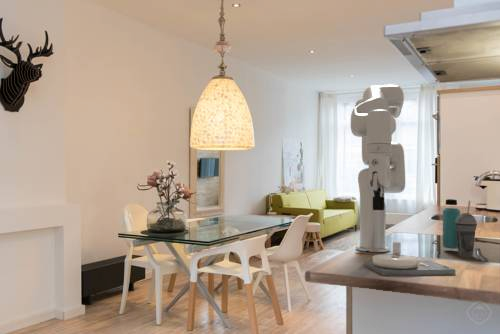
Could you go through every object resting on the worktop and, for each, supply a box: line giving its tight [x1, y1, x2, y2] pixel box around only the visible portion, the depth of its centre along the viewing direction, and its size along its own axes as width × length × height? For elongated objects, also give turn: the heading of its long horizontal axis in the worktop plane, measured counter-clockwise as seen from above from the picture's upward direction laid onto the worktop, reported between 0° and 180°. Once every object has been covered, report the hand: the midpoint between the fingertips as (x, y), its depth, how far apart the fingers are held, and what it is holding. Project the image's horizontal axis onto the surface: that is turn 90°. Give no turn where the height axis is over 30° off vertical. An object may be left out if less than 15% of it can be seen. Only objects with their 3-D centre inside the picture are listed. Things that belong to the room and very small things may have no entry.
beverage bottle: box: [441, 198, 461, 250], centre depth 177 cm, size 6×7×20 cm
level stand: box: [363, 259, 456, 277], centre depth 139 cm, size 15×22×2 cm
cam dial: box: [372, 241, 419, 269], centre depth 139 cm, size 13×13×6 cm
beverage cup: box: [455, 200, 478, 258], centre depth 166 cm, size 7×7×20 cm
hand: (378, 209), depth 141 cm, fingers closed
